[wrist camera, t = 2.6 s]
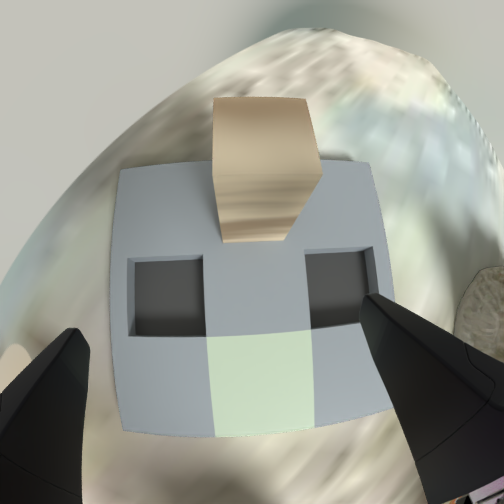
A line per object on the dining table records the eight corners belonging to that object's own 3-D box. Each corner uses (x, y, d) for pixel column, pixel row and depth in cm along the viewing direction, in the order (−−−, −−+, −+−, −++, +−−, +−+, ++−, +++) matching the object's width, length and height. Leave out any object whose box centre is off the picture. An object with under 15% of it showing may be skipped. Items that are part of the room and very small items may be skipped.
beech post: (283, 240, 20) (322, 174, 11) (223, 243, 20) (212, 175, 10) (277, 186, 21) (305, 98, 12) (221, 188, 21) (213, 97, 11)
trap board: (385, 401, 20) (396, 406, 18) (131, 422, 18) (123, 430, 16) (360, 172, 25) (368, 162, 23) (127, 179, 23) (120, 169, 21)
